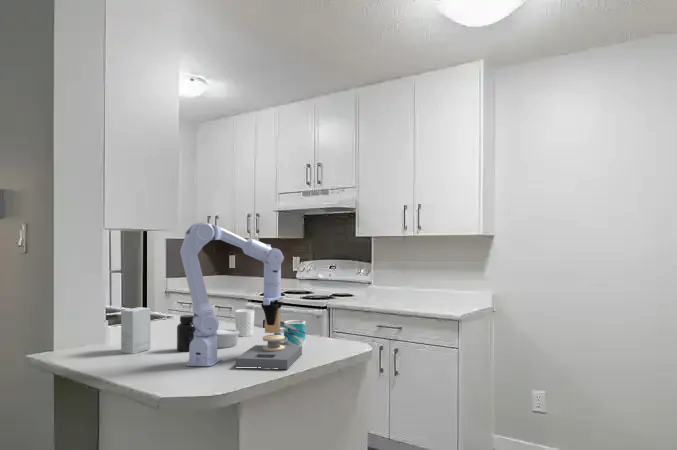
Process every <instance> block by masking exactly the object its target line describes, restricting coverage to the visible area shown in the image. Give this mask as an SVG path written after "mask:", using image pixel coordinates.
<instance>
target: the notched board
mask: <svg viewBox="0 0 677 450" xmlns="http://www.w3.org/2000/svg"><path fill="white" fill-rule="evenodd" d="M284 339H285V336H284V334H282V335H274V334H268V335H264V336H262V341H265V342H267V344H265V345H264V344H254V345H253V346H252V347H250V348H249V349H247V350H246V351H244V352H242V353H241V354H240V355H238V356H237V357H235V368H236V367H257V368H258V367H261V368H278V369H288V368H289V367H290V366H291V365H292V364H293V363H294V362H295V361H296V360H297V359H298V358H299V357H300V356H301V355H302V356H303V346H285V345H284V344H281V343H280V341H282V340H284ZM302 356H301V357H302ZM299 359H300V358H299ZM299 359H298V360H299ZM298 360H297V361H298ZM297 361H296V362H297ZM296 362H295V363H296ZM295 363H294V364H295ZM294 364H293V365H294ZM293 365H292V366H293ZM292 366H291V367H292ZM291 367H290V368H291ZM290 368H289V369H290ZM289 369H288V370H289Z"/></svg>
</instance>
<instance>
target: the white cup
mask: <svg viewBox="0 0 677 450" xmlns="http://www.w3.org/2000/svg"><path fill="white" fill-rule="evenodd" d="M234 323H235V330H238V331H239V335H238V337H240V338H241V337H244V338H245V337H251V336H254V328H255V309H251V308H250V309H249V308H246V309H245V308H244V309H243V308H242V309H236V310H235V311H234Z"/></svg>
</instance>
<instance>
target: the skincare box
mask: <svg viewBox="0 0 677 450" xmlns="http://www.w3.org/2000/svg"><path fill="white" fill-rule="evenodd" d="M120 313H121V315H120V316H121V317H120V320H121V321H120V324H121V325H120V331H121V333H120V334H121V337H120V340H121V341H120V352H121V353H124V354H130V355H134V354H138V353H141V352H145V351H148V350H151V308H150V307H142V306H138V307H134V308H128V309H123V310H121V311H120Z"/></svg>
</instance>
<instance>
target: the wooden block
mask: <svg viewBox="0 0 677 450" xmlns="http://www.w3.org/2000/svg"><path fill="white" fill-rule="evenodd" d="M280 328H281V308H277V311H276V316H275V323H274V325H267V321H266V316H265V315H264V333H265V334H274V333H279V332H280Z"/></svg>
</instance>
